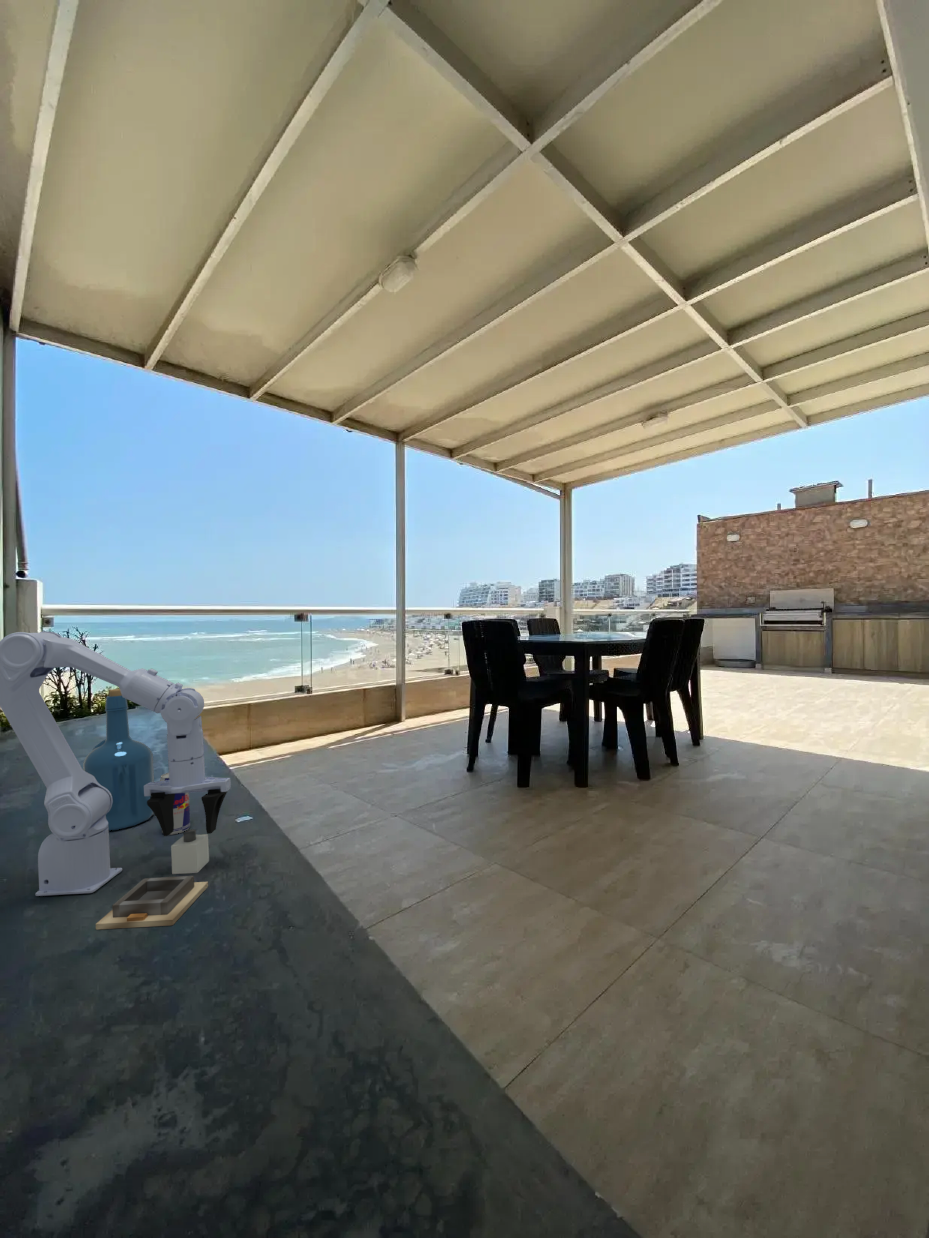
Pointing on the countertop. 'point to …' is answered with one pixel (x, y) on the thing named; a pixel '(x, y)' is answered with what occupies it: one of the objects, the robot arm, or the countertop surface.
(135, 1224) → the countertop surface
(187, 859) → the plug
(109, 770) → the blue bottle
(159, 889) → the socket
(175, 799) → the energy drink
